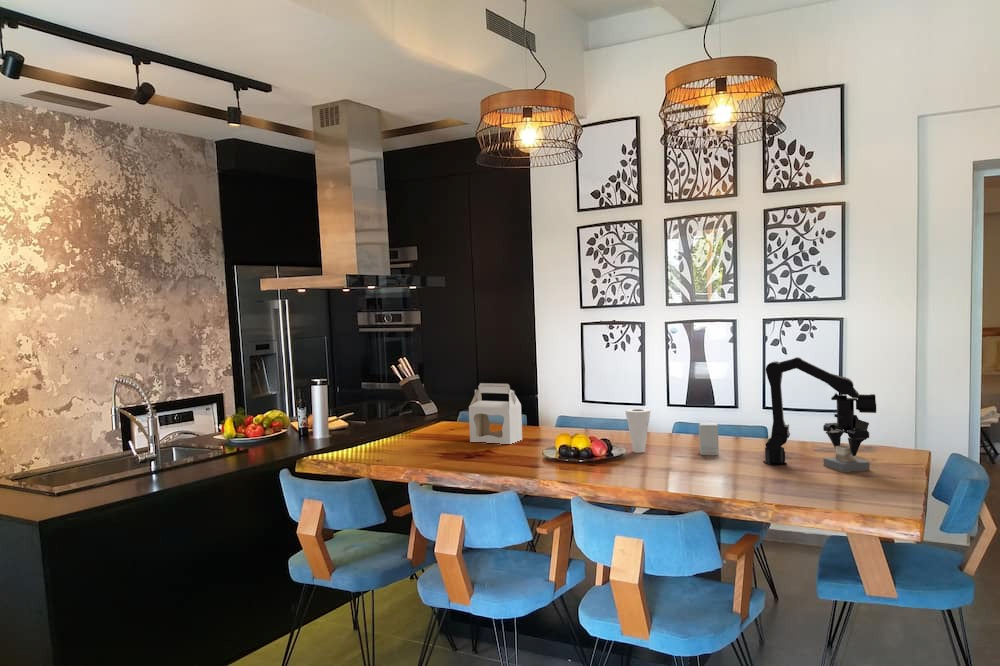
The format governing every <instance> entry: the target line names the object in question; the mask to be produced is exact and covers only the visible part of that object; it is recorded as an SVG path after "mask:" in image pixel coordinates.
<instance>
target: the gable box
mask: <svg viewBox="0 0 1000 666" xmlns="http://www.w3.org/2000/svg"><path fill="white" fill-rule="evenodd" d="M477 387H478V388H477V389H474V395H473V397H472V400H471V402H470V403H469V406H468V418H469V424H468V425H469V443H471V442H486V443H500V444H499V445H501V444H512V443H514V444H516V443H518V442H517V441H519V442H521V441H523V424H522V423H523V422H522V420H523V418H522V416H523V415H522V404H521V402H520V400H519V399H518V397H517V395H516V391H515V390H513V389H511V385H510V384H509V383H495V382H494V383H492V382H490V383H487V382H486V383H485V382H480V383H479V385H478V386H477ZM482 394H506V395H507V394H508V401H507V400H506V401H505V400H482ZM488 416H502V417H503V419H504V420H503V424H502V428H501V429H500V430H497V431H492V430H491V429H490V426H491V425H490V424H491V422H490V420H489V417H488ZM520 440H521V441H520ZM515 442H516V443H515ZM486 443H485V444H486ZM512 445H513V444H512Z"/></svg>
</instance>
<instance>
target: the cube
mask: <svg viewBox="0 0 1000 666" xmlns="http://www.w3.org/2000/svg"><path fill="white" fill-rule="evenodd" d="M835 457H836V459H837V460H840V461H843V462H851V461H857V459H858V458H857V455H856V456H853V455H852V453H851V449H850V445H849V444H848V445H847V444H845V445H840V446H836V449H835Z"/></svg>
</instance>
